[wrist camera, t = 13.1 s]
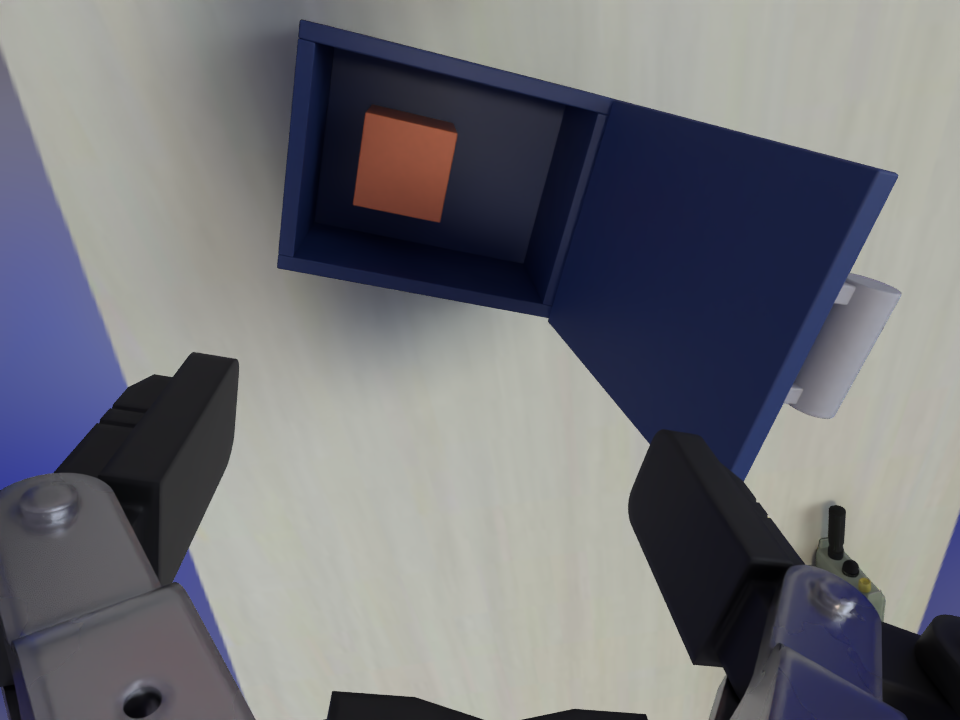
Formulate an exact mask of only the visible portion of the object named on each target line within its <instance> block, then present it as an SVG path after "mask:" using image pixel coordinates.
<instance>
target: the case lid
mask: <svg viewBox="0 0 960 720" xmlns="http://www.w3.org/2000/svg"><path fill="white" fill-rule="evenodd" d="M897 178H898V175H897V174H896V173H894V172H890V171H887V170H883V169H879V168H875V167H871V166H867V165H864V164H860V163H856V162H852V161H848V160H845V159H841V158H837V157H833V156H829V155H826V154H822V153H818V152H814V151H810V150H807V149H803V148H799V147H795V146H791V145H788V144H784V143H780V142H776V141H772V140H769V139H765V138H761V137H757V136H753V135H749V134H746V133H742V132H738V131H734V130H730V129H727V128H723V127H719V126H715V125H711V124H708V123H704V122H700V121H696V120H692V119H689V118H685V117H681V116H677V115H673V114H670V113H666V112H662V111H658V110H654V109H651V108H647V107H643V106H639V105H635V104H631V103H628V102H624V101H620V100H614V102H613V106H612V109H611V112H610V116H609V119H608V122H607V126H606V129H605V132H604V136H603V139H602V142H601V146H600V149H599V152H598V156H597V159H596V162H595V166H594V169H593V172H592V176H591V179H590V182H589V186H588V189H587V192H586V196H585V199H584V203H583V206H582V209H581V213H580V216H579V219H578V223H577V226H576V229H575V233H574V236H573V239H572V243H571V246H570V249H569V253H568V256H567V259H566V263H565V266H564V269H563V273H562V276H561V279H560V283H559V286H558V289H557V293H556V296H555V300H554V303H553V306H552V310H551V313H550V316H549V320H548V322H549V323H550V324H551V326H552V327H553V328H554V329H555V330H556V332H557V333H558V334H559V335H560V336H561V338H562V339H563V340H564V341H565V342H566V344H567V345H568V346H569V347H570V348H571V350H572V351H573V352H574V353H575V354H576V356H577V357H578V358H579V359H580V361H581V362H582V363H583V364H584V365H585V367H586V368H587V369H588V370H589V371H590V373H591V374H592V375H593V376H594V377H595V379H596V380H597V381H598V382H599V383H600V385H601V386H602V387H603V388H604V389H605V391H606V392H607V393H608V394H609V395H610V397H611V398H612V399H613V400H614V402H615V403H616V404H617V405H618V406H619V408H620V409H621V410H622V411H623V412H624V414H625V415H626V416H627V417H628V418H629V420H630V421H631V422H632V423H633V424H634V426H635V427H636V428H637V429H638V430H639V432H640V433H641V434H642V435H643V436H644V438H645V439H646V440H647V441H648V443H649V444H651V442H652V439H653V437H654V436H655V434H656V433H657V432H658V431H659V430H661V429H666V430H672V431H678V432H684V433H691V434H697V435H699V436H701V437H702V438H703V439H704V441H705V442H706V444H707V445H708V446H709V448H710V449H711V450H712V452H713V453H714V455H715V456H716V457H717V459H718V460H719V462H720V463H722V464H723V465H724V466H725V467H727V468H728V469H729V470H730V471H732V472H733V473H734V474H735V475H736V476H738V477H739V478H740V479H741V480H742V481H743V482H744V480H745V478H746V476H747V474H748V472H749V470H750V468H751V466H752V464H753V462H754V460H755V458H756V456H757V454H758V452H759V450H760V448H761V446H762V444H763V442H764V440H765V439H766V437H767V435H768V433H769V431H770V429H771V427H772V425H773V423H774V421H775V419H776V417H777V415H778V413H779V411H780V409H781V407H782V405H783V403H786V404H789V405H790V406H792V407H793V408H795V409H797V410H799V411H801V412H803V413H805V414H808V415H811V416H814V417H818V418H823V419H830V418H833V417H834V416H835V414H836V413H837V411H838V409H839V407H840V405H841V403H842V402H843V400H844V398H845V396H846V394H847V393H848V391H849V389H850V387H851V385H852V384H853V382H854V380H855V378H856V376H857V375H858V373H859V371H860V369H861V367H862V366H863V364H864V362H865V360H866V358H867V356H868V355H869V353H870V351H871V349H872V347H873V346H874V344H875V342H876V340H877V338H878V337H879V335H880V333H881V331H882V329H883V328H884V326H885V324H886V322H887V320H888V319H889V317H890V315H891V313H892V311H893V310H894V308H895V306H896V304H897V302H898V300H899V299H900V297H901V292H900V291H899V290H897V289H896V288H894V287H892V286H890V285H887V284H885V283H883V282H880V281H877V280H874V279H871V278H868V277H865V276H861V275H857V274H853V273H850V271H851V269H852V267H853V265H854V263H855V261H856V259H857V257H858V255H859V253H860V251H861V249H862V247H863V245H864V243H865V241H866V239H867V237H868V235H869V233H870V231H871V229H872V227H873V225H874V223H875V221H876V219H877V218H878V216H879V214H880V212H881V210H882V208H883V206H884V204H885V202H886V200H887V198H888V196H889V194H890V192H891V190H892V188H893V186H894V184H895V182H896V180H897Z"/></svg>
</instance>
